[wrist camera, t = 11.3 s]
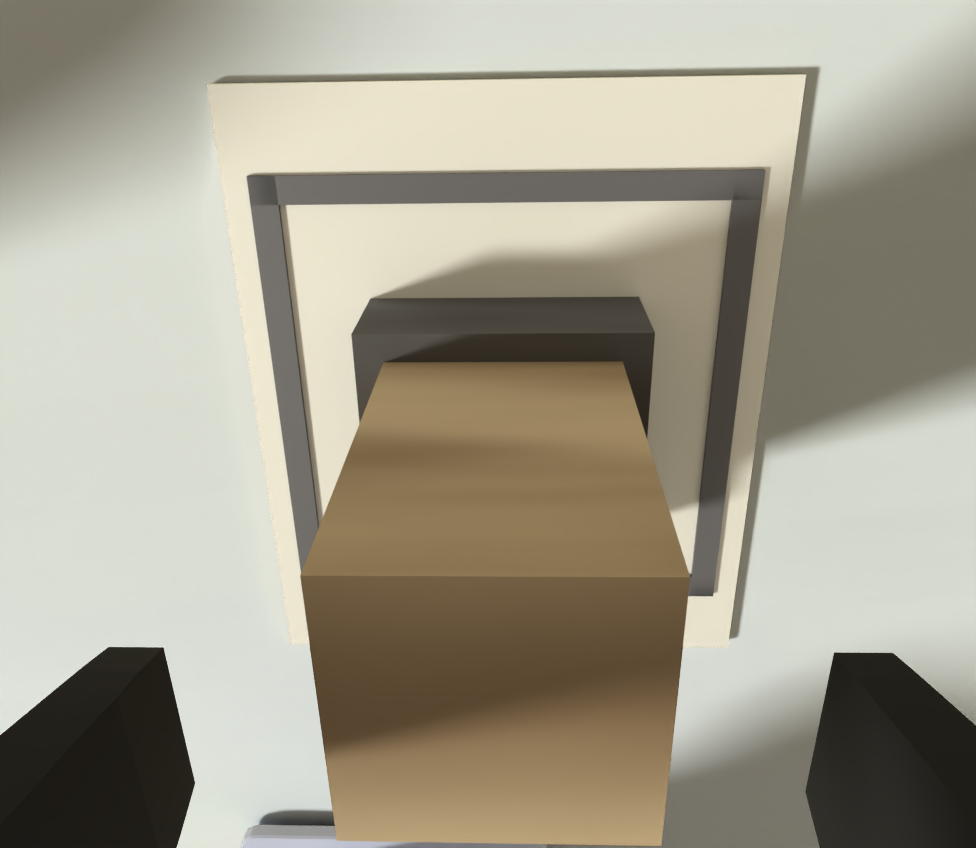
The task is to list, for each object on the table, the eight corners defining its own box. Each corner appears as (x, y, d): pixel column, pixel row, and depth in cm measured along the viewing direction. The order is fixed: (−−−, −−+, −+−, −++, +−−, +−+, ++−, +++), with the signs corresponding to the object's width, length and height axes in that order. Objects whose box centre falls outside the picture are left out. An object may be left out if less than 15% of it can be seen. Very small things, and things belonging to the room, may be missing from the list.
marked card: (725, 641, 19) (728, 650, 19) (292, 638, 19) (289, 647, 19) (802, 73, 14) (808, 74, 14) (210, 84, 14) (204, 84, 14)
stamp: (624, 525, 18) (698, 873, 10) (388, 525, 18) (301, 866, 11) (639, 296, 15) (746, 536, 8) (370, 298, 16) (245, 534, 8)
